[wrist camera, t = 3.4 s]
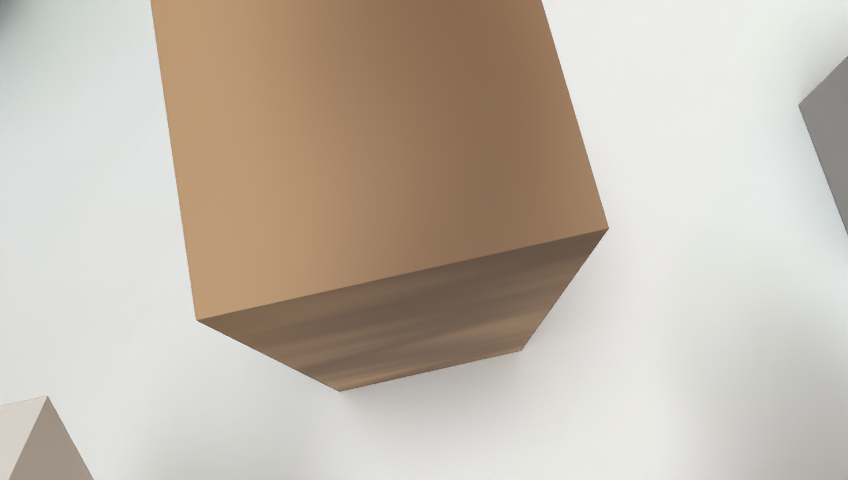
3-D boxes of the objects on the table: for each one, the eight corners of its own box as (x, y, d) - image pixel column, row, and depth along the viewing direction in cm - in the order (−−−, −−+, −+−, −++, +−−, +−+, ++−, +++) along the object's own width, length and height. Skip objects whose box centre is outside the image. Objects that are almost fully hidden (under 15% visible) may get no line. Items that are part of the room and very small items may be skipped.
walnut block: (339, 391, 21) (195, 320, 9) (306, 216, 22) (145, -40, 10) (521, 350, 21) (608, 228, 9) (477, 179, 22) (507, -117, 10)
